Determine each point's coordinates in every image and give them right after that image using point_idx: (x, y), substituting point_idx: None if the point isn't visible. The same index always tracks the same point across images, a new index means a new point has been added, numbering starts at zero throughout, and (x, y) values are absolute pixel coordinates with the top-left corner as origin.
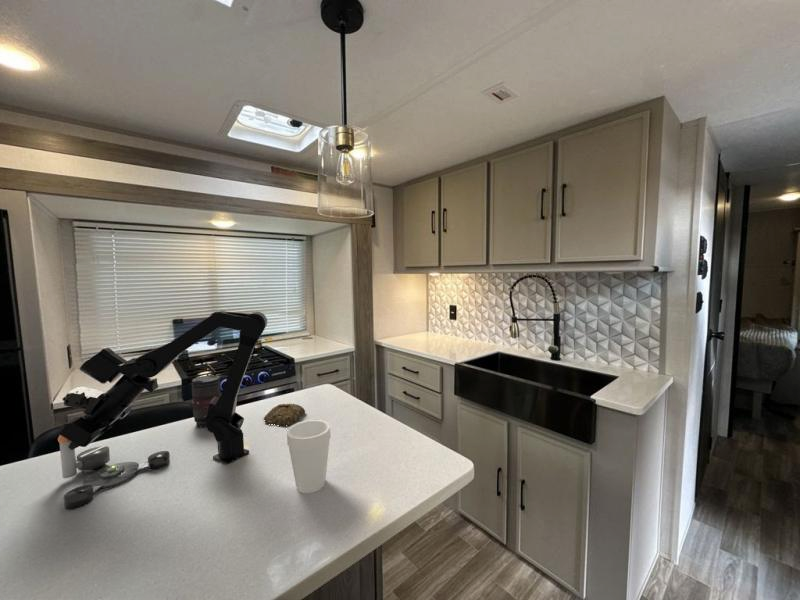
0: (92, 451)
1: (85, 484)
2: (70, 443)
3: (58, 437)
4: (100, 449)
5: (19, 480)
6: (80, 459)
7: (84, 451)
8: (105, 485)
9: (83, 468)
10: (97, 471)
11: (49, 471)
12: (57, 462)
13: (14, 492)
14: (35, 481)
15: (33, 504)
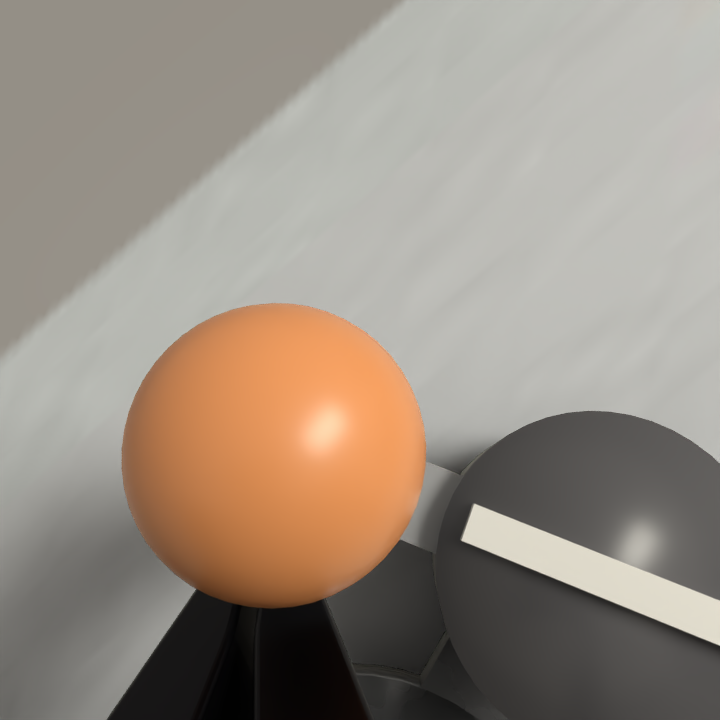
0: (597, 578)
1: None
2: (173, 627)
3: (175, 341)
4: (679, 625)
5: (430, 55)
6: (442, 534)
7: (635, 432)
8: None
9: (433, 554)
10: (421, 702)
11: (545, 164)
12: (697, 99)
13: (263, 171)
14: (397, 188)
15: (66, 460)
